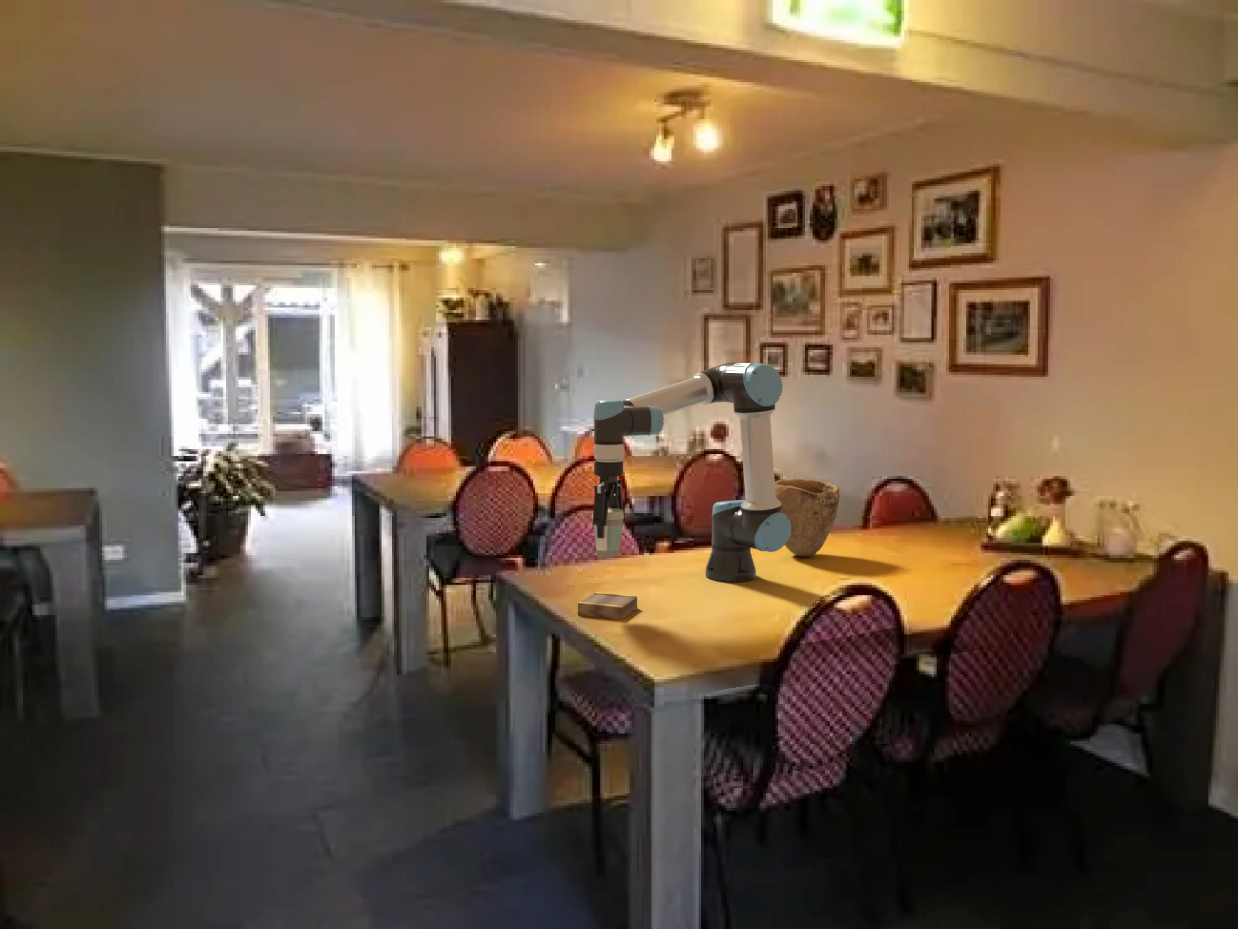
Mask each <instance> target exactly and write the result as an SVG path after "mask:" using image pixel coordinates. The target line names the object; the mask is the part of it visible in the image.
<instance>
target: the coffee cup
mask: <svg viewBox="0 0 1238 929" xmlns="http://www.w3.org/2000/svg"><path fill="white" fill-rule="evenodd" d="M625 518H626V517H625V514H624V509H623V510H621V509H617V508H609V507H608V513H607V519H606V525H607V551H601V550H596V556H597V557H599V558H603V559H613V558H618V557H619V556H620V551H621V543H622V542H621V541H622V534H623V525H624V519H625ZM591 519H593V513H592V514H591ZM593 532H594V534H593V535H594V543H595V544H596V525H593Z"/></svg>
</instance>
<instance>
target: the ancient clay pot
mask: <svg viewBox="0 0 1238 929" xmlns="http://www.w3.org/2000/svg"><path fill="white" fill-rule="evenodd" d="M840 494H841V493H840V486H839V485H837V484H834V483H831V482H830V481H827V480H825V479H821V478H815V479H814V478H813V479H811V478H810V479H801V478H792V479H779V480H776V481H775V496H776V498H777V499H778V500H779V501H780V502H781V507H782V513H783V514H785V515H786V516H787V517H788V518H789V519H790V522H791V533H790V537H789V539H788V541H787V542H786V543H785V545H784V546H785V548H786V549H787V550H788V551H789V552H790V553H792V554H793V555H796V556H798V557H806V558H807V557H808V558H809V557H812V556H814V555H816V553H818V552H819V551H820V550H821V549H822V548H823V547H824V544H825V542H826V541H827V539H828V536H829V534H830V533H831V531H832V529H833V526H834V523H835V521H836V518H837V514H838V508H839V503H840V497H841V496H840Z"/></svg>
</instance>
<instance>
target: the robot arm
mask: <svg viewBox="0 0 1238 929" xmlns="http://www.w3.org/2000/svg"><path fill="white" fill-rule="evenodd" d="M782 380H783V379H782V378H781V375H780V373H779V371H777V370H776V369H775V368H774V367H773V366H772V365H770V364H768V363H762V362H727V363H722V364H720V365H716V366H714V367H710V368H708V369H704V370H702V371H698V372H696V373H694V374H693V376H692V378H689V379H685V380H682V381H680V382H677V383H673V384H670V385H667V386H664V387H660V388H658V389H655V390H651V391H649V392H645V393H642V394H639V395H636V396H633V397H630V398H627V399H623V400H620V399H619V400H618V399H600V400H597V401H596V402H595V403H594V408H593V409H594V410H593V435H594V436H593V438H594V439H593V442H594V443H593V444H594V445H593V447H592V450H593V452H594V453H593V458H594V459H595V460H594V462H593V475H595V477H599V482H598V484H594V496H593V497H594V498H593V512H592V514H593V518H592V525H593V526H594V525H596V543H595V549H596V550H601V551H607V525H606V519H607V513H608V508H617V509H621V510H623V511H624V504H623V491H622V490H623V489H622V488H623V487H622V486H623V485H622V484H623V479H621V478H620V479H619V478H618V477H622V476H623V475H624V461H622V460H623V459H624V437H632V436H634V437H635V436H637V437H638V436H652V435H657V434H659V433H660V432H661V431H662V430H663V428H664V423H665V422H664V419H665V418H664V416H666V415H669V414H673V413H676V412H679V411H682V410H684V409H687V408H690V407H693V406H697V405H699V404H700V405H703V406H708V405H710V404H714V403H730V404H733V413H734V414H735V415H736V416H737V417H739V422H740V423H739V425H740V426H739V427H740V440H741V454H742V467H743V478H744V483H743V484H744V497H745V499H739V500H725V501H717V502H715V503H714V504H713V506H712V514H711V551H710V555H709V557H708V560H707V563H706V567H705V577H706V578H708V579H711V580H713V581H720V582H729V583H730V582H732V583H733V582H734V583H736V582H737V583H738V582H748V581H749V582H750V581H752V580H754V579H756V578H757V571H756V570H757V569H756V566H755V562H754V558H753V556H752V553H751V551H752V549H753V550H758V551H760V552H767V553H775V552H777V551H779V550H780V549H782V548H784V546H785V543H786V542H787V541H788V539H789V537H790V533H791V522H790V519H789V518H788V517H787V516H786V515H785V514H783V513H782V507H781V502H780V501H779V500H778V499H777V498H776V496H775V482H776V481H775V467H774V454H773V453H774V452H773V438H772V437H773V436H772V423H771V419H772V418H771V415H772V414H773V413H774V412H775V410H776V403H778V401H779V400H780V399H781V398H780V397H781V396H782V394H783V381H782Z"/></svg>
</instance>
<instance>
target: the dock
mask: <svg viewBox="0 0 1238 929" xmlns="http://www.w3.org/2000/svg"><path fill="white" fill-rule="evenodd" d="M637 609H638V595H630V594H619V593H618V594H617V593H611V592H610V593H608V592H600V591H599V592H597V591H594V592H593V593H592V594H590V595H589V596H588V597H586V598H584V599H583V600H581V601H578V602H577V615H578V616H586V617H594V618H604V619H613V620H624V618H626V617H627V616H628V615H630V614H631V613H632V612H634V611H635V610H637Z"/></svg>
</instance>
